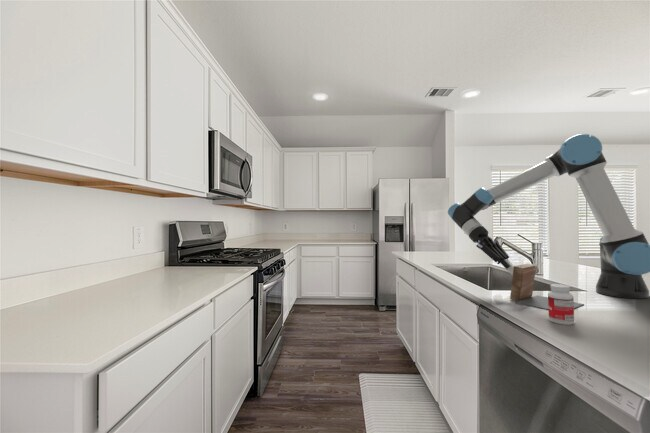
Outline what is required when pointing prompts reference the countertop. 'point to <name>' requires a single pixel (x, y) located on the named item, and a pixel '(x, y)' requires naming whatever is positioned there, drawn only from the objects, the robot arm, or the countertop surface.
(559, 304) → the pill bottle
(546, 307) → the dark grey rubber mat
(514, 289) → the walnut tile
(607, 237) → the robot arm
